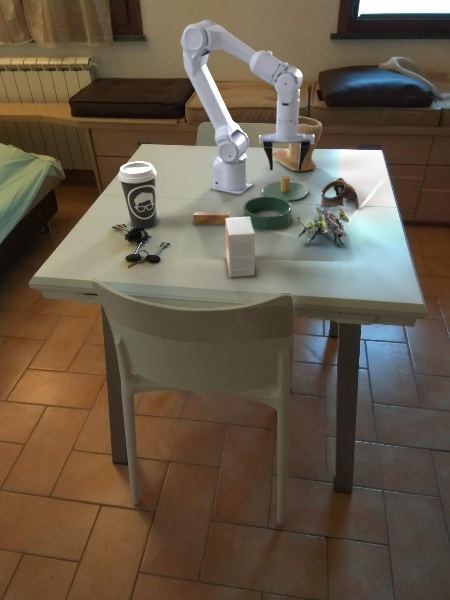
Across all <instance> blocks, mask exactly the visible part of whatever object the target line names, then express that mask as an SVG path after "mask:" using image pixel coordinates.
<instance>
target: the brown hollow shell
mask: <svg viewBox="0 0 450 600" xmlns="http://www.w3.org/2000/svg"><path fill="white" fill-rule="evenodd" d="M332 188H333V190H334V192H335V196H333V197H327V196H326V195H325V194H326V193H327V192H328V191H329V190H330V189H332ZM321 193H322V194H321V195H320V197H321V198H320V204H321V206H322V207H326V208H331V207H338V206H341V207H344V199H345V200H347V201H350V202H353V203H354V205H355V208H356V209H357V210H359V199H358V193H357V192H356V189H355V188H354V187H353V186H352V185H351V184H349V183H347V182H346V180H344V178H342V177H339V178H336V179H335V180H332V181H330V182H328V183H327V184H326V185H325V186H323V188H322V190H321Z"/></svg>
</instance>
